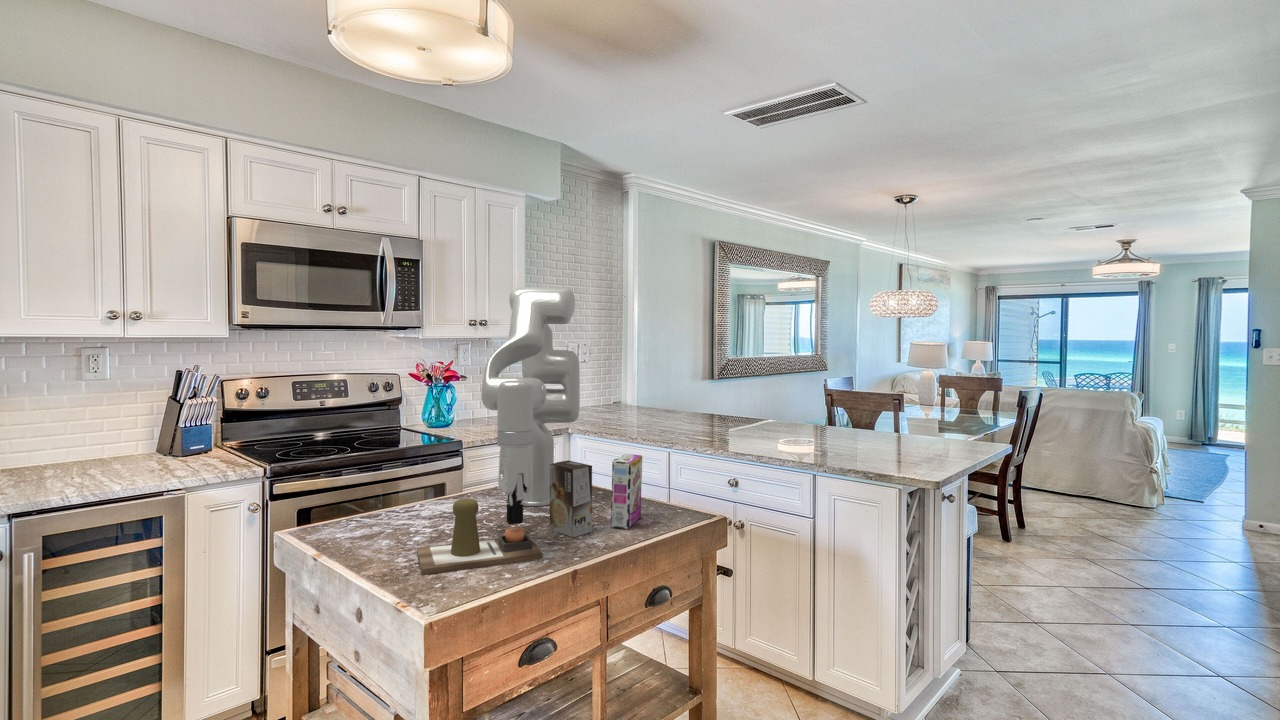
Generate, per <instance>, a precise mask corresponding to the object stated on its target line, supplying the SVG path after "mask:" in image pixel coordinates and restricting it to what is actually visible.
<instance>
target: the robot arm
mask: <svg viewBox="0 0 1280 720" xmlns="http://www.w3.org/2000/svg"><path fill="white" fill-rule="evenodd" d="M509 305H510V306H509V307H510V309H511V317H510V324H509V325H510V326H509V332H508V339H507V340H506V341H504V343H502V344H501V345H500V346H499V347H497V349H495V351H494V352H493V353H492V354H491V355H490V357H489V358H488V359H487V362H486V364H485V366H484V371H483V378H482V382H481V383H482V384H481V385H482V386H481V394H480V395H481V396H480V397H481V402H482V404H483V406H484V407H485V408H486V409H488V410H490V411H497V421H496V422H497V423H496V424H497V427H496V429H497V431H496V434H497V435H496V436H497V439H496V440H497V445H496V446H497V447H500V448H499V449H500V450H499V459H498V460H499V461H498V483H497V484H498V487H499V488H500V490H502V491H503V492H504V493H505V495H506V523H507V524H508V525H517V524H522V523H524V506H526V507H544V506H550V464H553V463H555V461H554V460H555V459H554V458H555V455H554V453H555V451H554V450H555V449H554V448H555V443H554V442H555V441H554V436H553V434H552V432H551V431H550V429H549V428H548V427H547V426H546V424H549V423H550V424H557V423H558V424H569V423H570V424H572V423H574V422H575V421H577V420H578V418H579V415H580V410H581V409H580V408H581V407H580V405H581V400H580V399H581V398H580V391H581V390H580V389H581V387H580V382H581V381H580V376H581V375H580V374H581V373H580V372H581V371H580V370H581V369H580V361H579V357H578V355H577V353H576V352H575V351H573V350H569V349H567V350H566V349H565V350H564V349H554V348H553V334H554V333H553V331H552V328H551V327H550V325H567V324H568V323H570V322H571V319H572V317H573V315H574V313H575V310H576V309H575V308H576V299H575V295H574V292H573V291H572V289H571V288H569V287H546V286H545V287H543V286H526V287H525V286H524V287H517V288H515V289H513V290H512V291H510V293H509ZM519 362H521V374H522V377H520V376H519V377H518V376H517V377H516V376H515V377H514V376H513V377H510V376H509V377H508V376H506V377H505V376H499V375H500V374H501V373H502V372H503V371H504V370H505V369H507V368H508V367H510V366H513V365H514V364H517V363H519ZM546 385H561V387H563V388H547V387H546Z"/></svg>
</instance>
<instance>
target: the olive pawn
mask: <svg viewBox="0 0 1280 720" xmlns="http://www.w3.org/2000/svg"><path fill="white" fill-rule="evenodd" d="M478 512H479V503H478V501H477V500H476V499H474V498H469V497H468V498H461V499H457V500H456V501H455V502H453V505H452V513H453V515H454V517H455V518H454V526H453V533H452V540H451V544H452V547H451V554H452V555H454V556H459V557H465V556H472V555H475V554H478V553H479V552H480V544H479V540H480V539H479V538H480V537H479V530H478V524H477V522H478V521H477V514H478Z"/></svg>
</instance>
